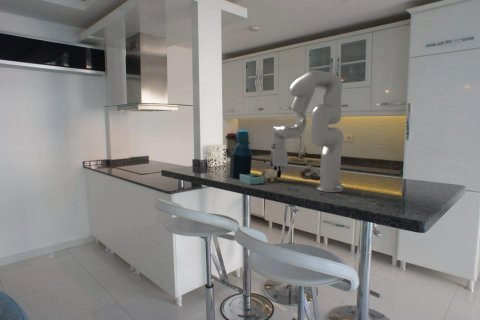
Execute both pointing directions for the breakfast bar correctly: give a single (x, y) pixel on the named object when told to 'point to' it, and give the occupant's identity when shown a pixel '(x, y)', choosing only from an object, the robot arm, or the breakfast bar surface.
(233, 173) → the dark teal bottle
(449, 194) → the breakfast bar surface
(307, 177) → the futuristic pistol
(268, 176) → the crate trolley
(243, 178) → the bay
